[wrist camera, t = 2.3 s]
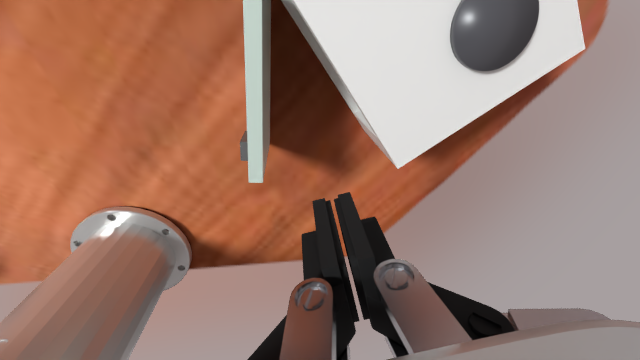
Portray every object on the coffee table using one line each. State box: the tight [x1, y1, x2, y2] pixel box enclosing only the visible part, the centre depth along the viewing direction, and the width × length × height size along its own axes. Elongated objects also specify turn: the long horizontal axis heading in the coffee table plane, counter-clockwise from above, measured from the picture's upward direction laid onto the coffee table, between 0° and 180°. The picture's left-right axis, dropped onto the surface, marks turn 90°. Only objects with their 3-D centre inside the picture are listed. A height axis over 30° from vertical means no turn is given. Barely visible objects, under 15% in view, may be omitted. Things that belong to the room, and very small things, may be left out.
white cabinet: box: [281, 0, 585, 169], centre depth 20 cm, size 14×16×11 cm
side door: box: [240, 0, 271, 183], centre depth 21 cm, size 2×13×9 cm, turn 175°
